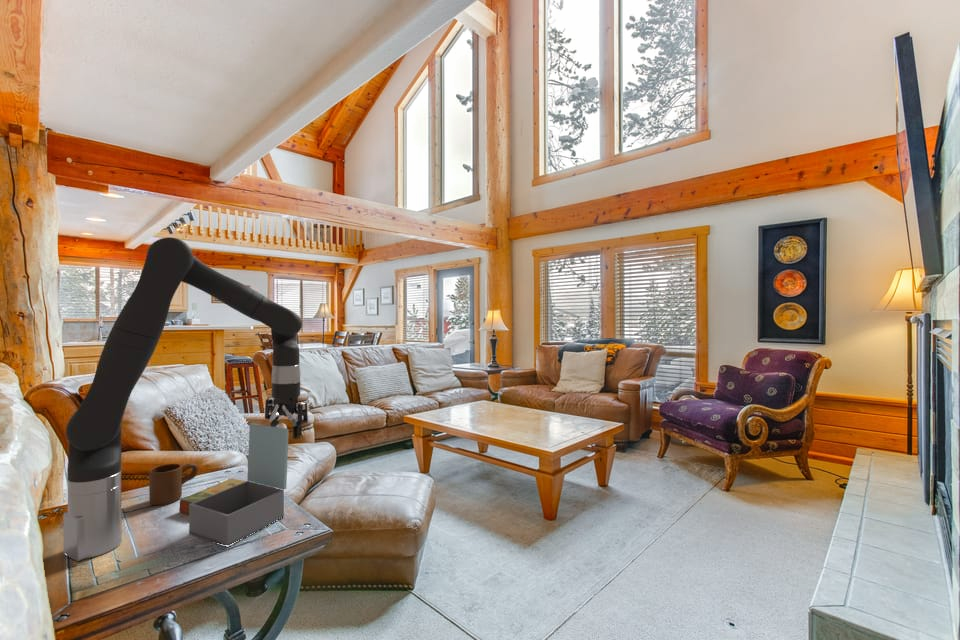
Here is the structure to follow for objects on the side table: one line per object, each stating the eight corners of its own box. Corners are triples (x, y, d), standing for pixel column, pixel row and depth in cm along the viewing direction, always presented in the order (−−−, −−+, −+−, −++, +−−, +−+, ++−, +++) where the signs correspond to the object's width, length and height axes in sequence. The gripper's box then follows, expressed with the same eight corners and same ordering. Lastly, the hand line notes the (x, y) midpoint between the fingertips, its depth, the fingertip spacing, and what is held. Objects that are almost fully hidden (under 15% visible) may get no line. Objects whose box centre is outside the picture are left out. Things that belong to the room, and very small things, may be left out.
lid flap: (286, 429, 115) (303, 425, 120) (249, 423, 121) (267, 419, 126) (283, 489, 115) (301, 482, 120) (247, 480, 120) (265, 473, 126)
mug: (194, 487, 133) (194, 457, 132) (202, 495, 128) (202, 463, 127) (146, 500, 124) (146, 468, 123) (153, 509, 119) (153, 475, 118)
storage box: (227, 547, 100) (227, 516, 100) (189, 534, 106) (189, 504, 106) (283, 517, 115) (283, 490, 115) (247, 507, 121) (247, 480, 120)
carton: (251, 495, 129) (252, 481, 129) (200, 520, 114) (200, 504, 114) (231, 490, 132) (232, 477, 132) (178, 514, 117) (178, 498, 117)
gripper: (257, 380, 123) (257, 436, 123) (294, 384, 117) (293, 443, 117) (278, 376, 129) (278, 429, 130) (314, 380, 124) (314, 436, 124)
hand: (285, 436), depth 124 cm, fingers open, 8 cm apart
